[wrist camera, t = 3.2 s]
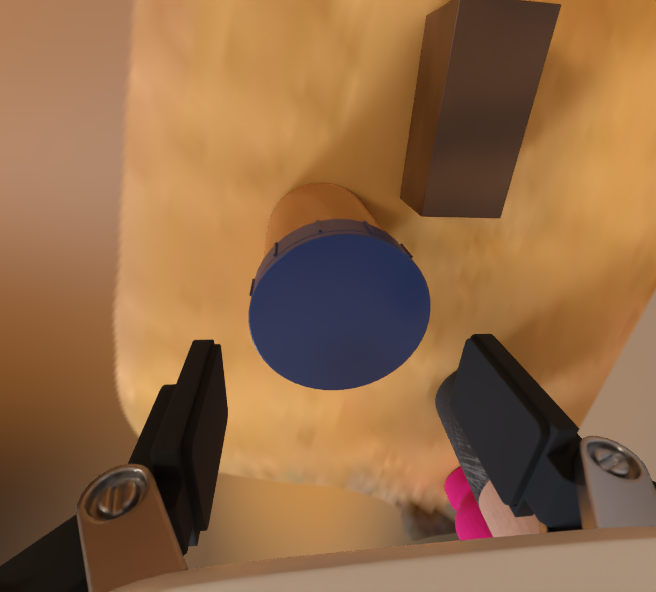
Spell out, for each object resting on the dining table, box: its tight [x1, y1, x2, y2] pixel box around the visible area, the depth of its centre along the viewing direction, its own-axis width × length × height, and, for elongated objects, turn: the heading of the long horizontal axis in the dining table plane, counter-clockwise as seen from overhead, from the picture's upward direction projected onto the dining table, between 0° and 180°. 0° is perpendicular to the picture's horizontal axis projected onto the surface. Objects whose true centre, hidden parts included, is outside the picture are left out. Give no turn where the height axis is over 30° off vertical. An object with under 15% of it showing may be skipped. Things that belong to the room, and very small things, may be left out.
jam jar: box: [263, 183, 382, 259], centre depth 18 cm, size 7×7×10 cm
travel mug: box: [436, 371, 540, 537], centre depth 22 cm, size 8×8×20 cm
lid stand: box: [400, 0, 561, 218], centre depth 18 cm, size 9×4×4 cm, turn 177°
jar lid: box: [249, 219, 430, 390], centre depth 15 cm, size 7×7×2 cm
